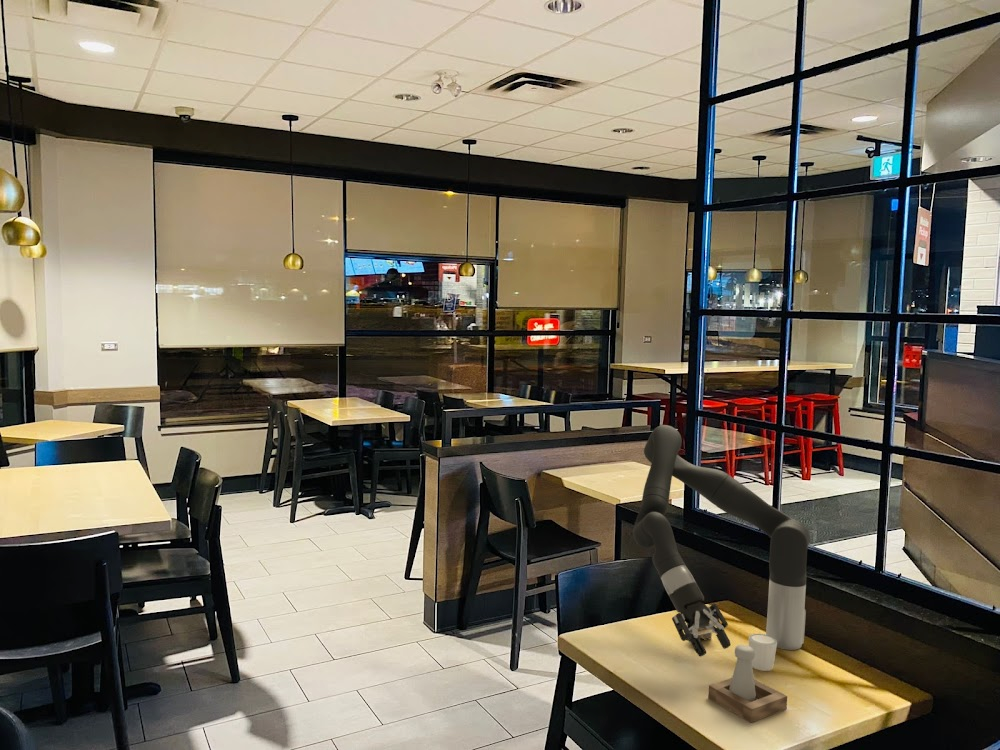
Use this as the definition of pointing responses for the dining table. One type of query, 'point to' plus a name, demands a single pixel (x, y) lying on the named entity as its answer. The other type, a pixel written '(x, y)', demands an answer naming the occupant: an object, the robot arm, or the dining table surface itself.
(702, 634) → the architectural model
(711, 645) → the dining table surface
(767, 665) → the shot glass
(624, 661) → the dining table surface
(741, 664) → the salt shaker
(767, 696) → the socket
